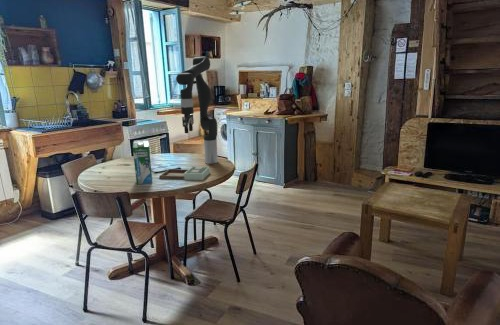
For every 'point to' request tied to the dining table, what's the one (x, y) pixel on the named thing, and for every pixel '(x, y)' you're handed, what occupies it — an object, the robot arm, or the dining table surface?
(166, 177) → the tray
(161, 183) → the dining table surface
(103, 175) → the dining table surface
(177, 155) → the dining table surface
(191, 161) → the dining table surface
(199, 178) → the bin
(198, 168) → the stone
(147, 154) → the milk carton
